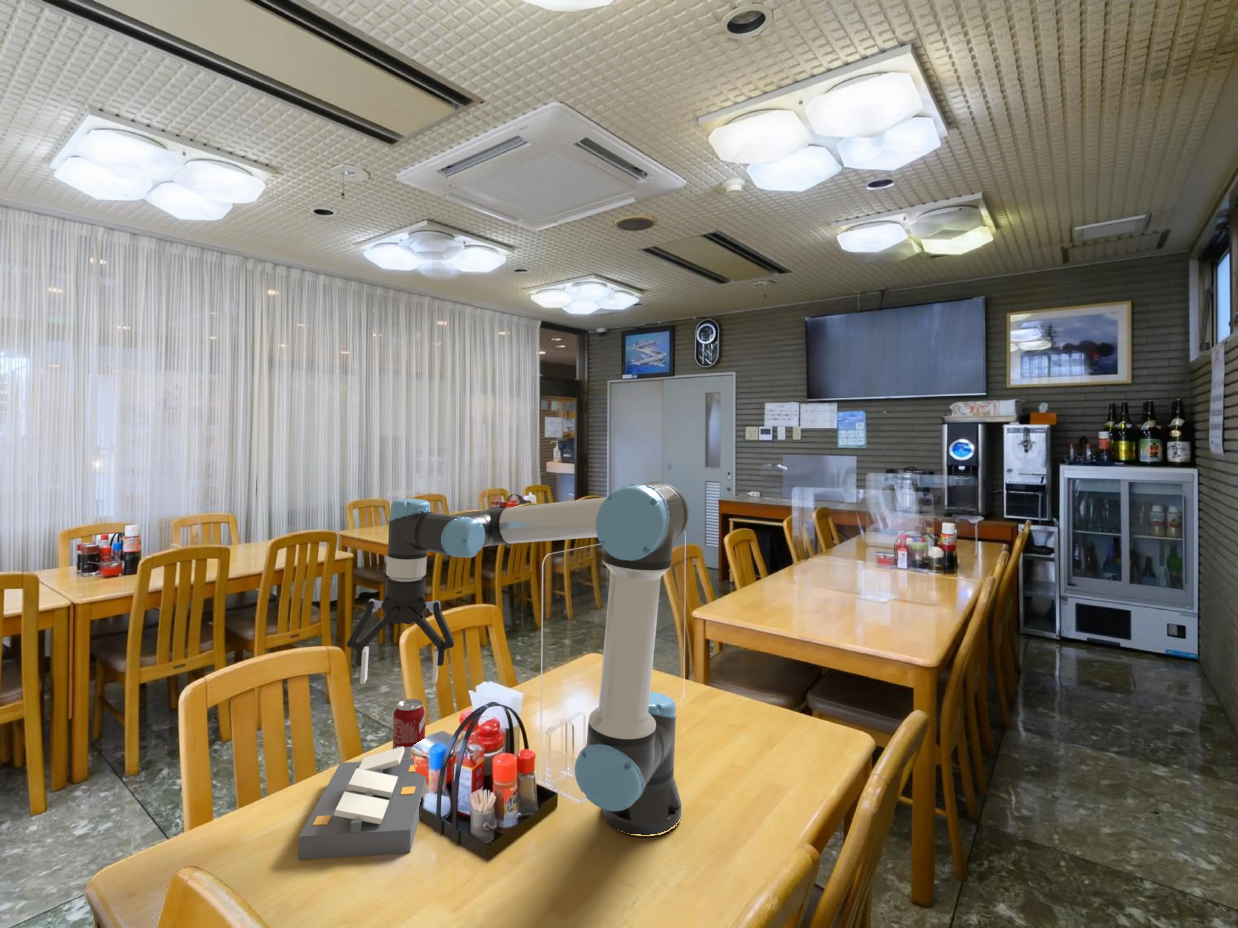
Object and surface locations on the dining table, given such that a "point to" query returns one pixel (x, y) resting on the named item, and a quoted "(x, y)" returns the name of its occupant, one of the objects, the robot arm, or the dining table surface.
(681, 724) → the dining table surface
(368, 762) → the far switch
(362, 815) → the near switch
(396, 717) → the soda can
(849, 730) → the dining table surface
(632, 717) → the robot arm
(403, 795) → the switch unit
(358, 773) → the middle switch
